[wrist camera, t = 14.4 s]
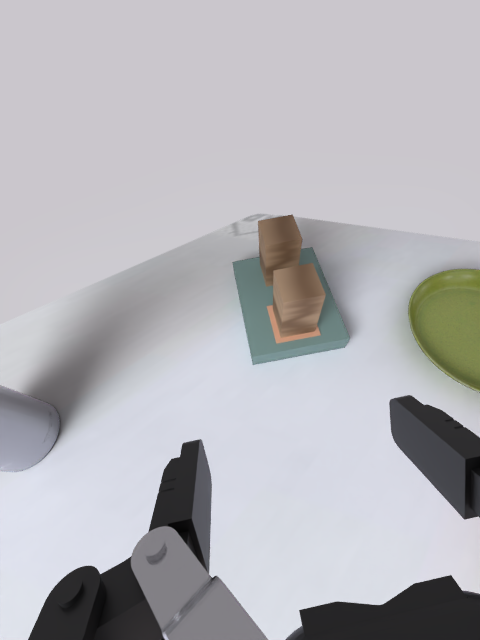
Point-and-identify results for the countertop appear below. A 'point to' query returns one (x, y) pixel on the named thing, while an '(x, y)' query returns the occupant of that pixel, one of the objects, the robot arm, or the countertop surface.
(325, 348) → the build board
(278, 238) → the walnut column
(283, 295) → the walnut block
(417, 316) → the saucer
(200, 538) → the robot arm
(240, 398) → the countertop surface
